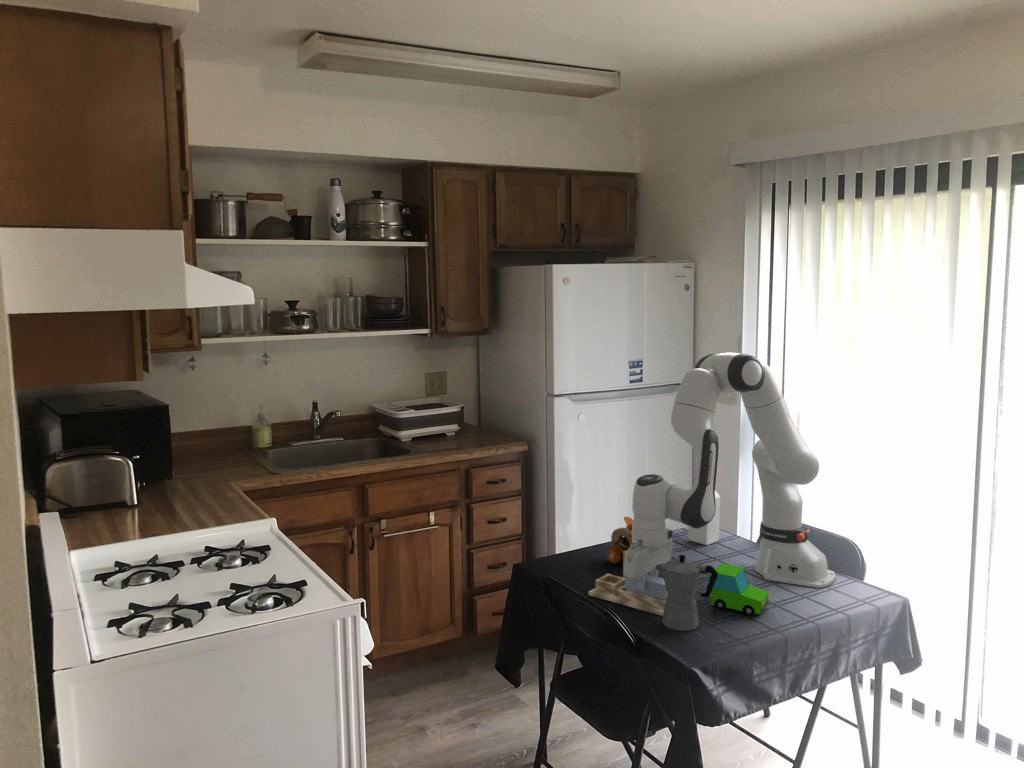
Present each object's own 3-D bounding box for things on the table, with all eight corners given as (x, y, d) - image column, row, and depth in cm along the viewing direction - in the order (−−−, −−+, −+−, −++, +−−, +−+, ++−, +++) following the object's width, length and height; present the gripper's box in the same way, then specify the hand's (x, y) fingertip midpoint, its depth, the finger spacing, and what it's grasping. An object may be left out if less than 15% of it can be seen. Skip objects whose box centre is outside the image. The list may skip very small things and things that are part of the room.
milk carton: (688, 540, 277) (689, 484, 274) (700, 536, 282) (702, 480, 279) (706, 545, 272) (708, 488, 269) (719, 541, 277) (720, 484, 274)
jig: (685, 601, 227) (685, 589, 226) (663, 616, 217) (663, 603, 217) (611, 582, 241) (611, 570, 240) (588, 595, 231) (588, 582, 231)
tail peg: (635, 578, 243) (635, 552, 242) (630, 581, 241) (630, 555, 240) (626, 576, 245) (626, 550, 244) (620, 579, 243) (621, 552, 242)
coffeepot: (653, 629, 209) (655, 560, 207) (654, 614, 218) (655, 547, 216) (717, 634, 207) (719, 563, 204) (715, 618, 216) (717, 550, 213)
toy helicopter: (622, 554, 264) (623, 512, 262) (673, 573, 247) (674, 528, 246) (603, 560, 259) (604, 517, 257) (654, 579, 242) (655, 533, 241)
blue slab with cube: (671, 594, 224) (672, 576, 224) (664, 599, 221) (664, 581, 220) (632, 584, 232) (632, 567, 231) (624, 588, 229) (625, 571, 228)
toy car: (760, 620, 214) (761, 583, 213) (709, 610, 221) (710, 573, 220) (770, 607, 223) (772, 570, 222) (721, 597, 230) (722, 561, 229)
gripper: (639, 548, 214) (638, 600, 216) (677, 529, 230) (675, 577, 232) (617, 543, 218) (617, 594, 220) (656, 524, 234) (655, 572, 236)
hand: (647, 585), depth 226 cm, fingers closed on blue slab with cube, 4 cm apart
